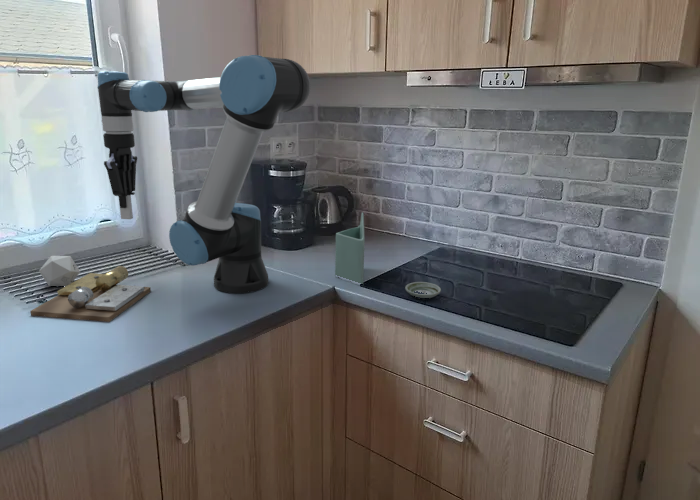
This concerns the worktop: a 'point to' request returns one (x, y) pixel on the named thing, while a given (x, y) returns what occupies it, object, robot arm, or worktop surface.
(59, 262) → the die
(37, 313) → the mount board
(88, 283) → the loose leaf
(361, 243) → the planter
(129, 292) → the fixed leaf
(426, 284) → the saucer
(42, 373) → the worktop surface
